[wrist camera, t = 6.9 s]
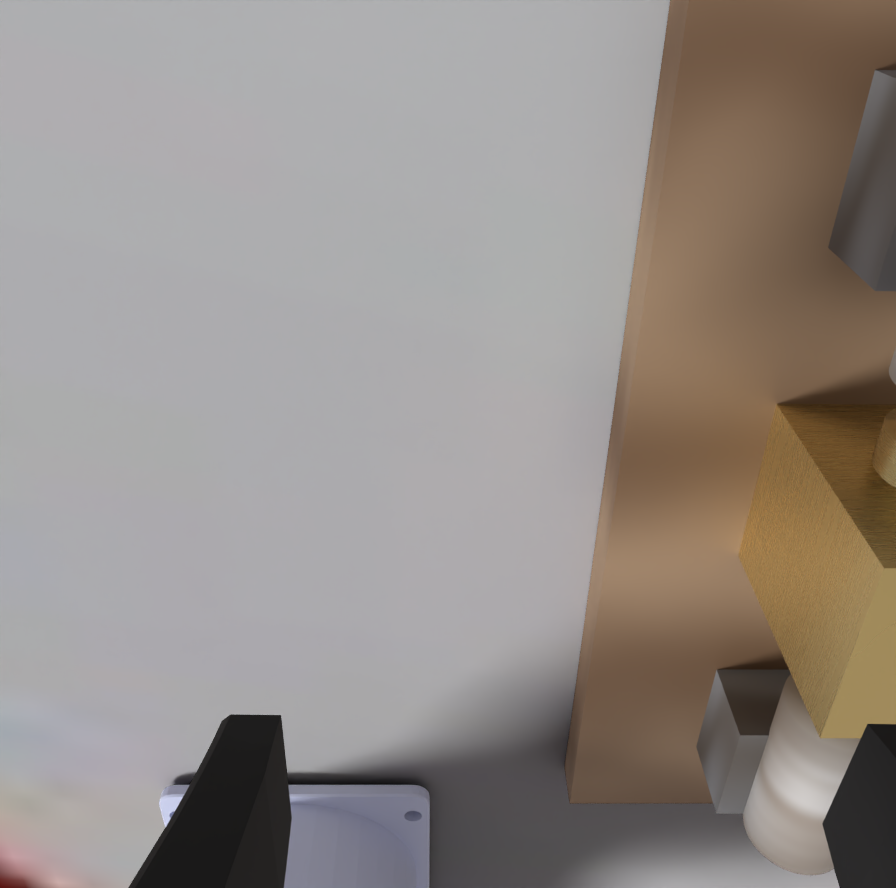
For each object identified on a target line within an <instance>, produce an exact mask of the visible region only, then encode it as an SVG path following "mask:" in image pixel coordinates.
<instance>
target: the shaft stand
mask: <svg viewBox="0 0 896 888" xmlns="http://www.w3.org/2000/svg"><path fill="white" fill-rule="evenodd" d="M776 404H896V0H670V6H669V14H668V21H667V28H666V35H665V43H664V50H663V57H662V64H661V72H660V79H659V86H658V93H657V101H656V108H655V115H654V122H653V130H652V137H651V144H650V151H649V159H648V166H647V173H646V180H645V188H644V195H643V202H642V209H641V216H640V224H639V231H638V238H637V245H636V253H635V260H634V267H633V274H632V282H631V289H630V296H629V303H628V311H627V318H626V325H625V332H624V340H623V347H622V354H621V361H620V369H619V376H618V383H617V390H616V398H615V405H614V412H613V419H612V427H611V434H610V441H609V448H608V456H607V463H606V470H605V477H604V485H603V492H602V499H601V506H600V514H599V521H598V528H597V535H596V543H595V550H594V557H593V564H592V571H591V579H590V586H589V593H588V600H587V608H586V615H585V622H584V629H583V637H582V644H581V651H580V658H579V666H578V673H577V680H576V687H575V695H574V702H573V709H572V716H571V724H570V731H569V738H568V745H567V753H566V760H565V767H564V768H565V774H566V781H567V788H568V795H569V802H570V803H713V804H714V808H715V811H716V814H743V823H744V827H745V830H746V832H747V835H748V837H749V838H750V840H751V842H752V843H753V845H754V846H755V847H756V848H757V850H758V851H759V852H760V853H761V854H762V855H763V856H764V857H766V858H767V859H768V860H769V861H771V862H772V863H774V864H775V865H777V866H779V867H781V868H783V869H785V870H788V871H790V872H793V873H797V874H802V875H819V874H824V873H826V872H829V871H831V870H832V869H834V866H833V862H832V858H831V855H830V851H829V847H828V843H827V840H826V836H825V832H824V828H823V825H822V823H823V821H824V819H825V817H826V814H827V812H828V810H829V808H830V806H831V803H832V801H833V799H834V797H835V795H836V792H837V790H838V788H839V786H840V783H841V781H842V779H843V777H844V775H845V772H846V770H847V768H848V766H849V763H850V761H851V759H852V757H853V755H854V752H855V750H856V748H857V746H858V744H859V741H860V739H861V738H820V737H819V735H818V733H817V731H816V728H815V726H814V724H813V722H812V719H811V717H810V715H809V713H808V711H807V708H806V706H805V704H804V702H803V699H802V697H801V695H800V693H799V691H798V688H797V686H796V684H795V682H794V679H793V677H792V675H791V673H790V670H789V668H788V666H787V664H786V662H785V659H784V657H783V655H782V653H781V650H780V648H779V646H778V644H777V642H776V639H775V637H774V635H773V633H772V630H771V628H770V626H769V624H768V621H767V619H766V617H765V615H764V613H763V610H762V608H761V606H760V604H759V601H758V599H757V597H756V595H755V593H754V590H753V588H752V586H751V584H750V581H749V579H748V577H747V575H746V572H745V570H744V568H743V566H742V564H741V561H740V559H739V557H738V554H739V550H740V546H741V542H742V538H743V534H744V530H745V526H746V522H747V518H748V514H749V510H750V506H751V503H752V499H753V495H754V491H755V487H756V483H757V479H758V475H759V471H760V467H761V463H762V459H763V455H764V451H765V447H766V443H767V439H768V435H769V431H770V427H771V423H772V420H773V416H774V412H775V408H776Z"/></svg>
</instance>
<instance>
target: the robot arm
mask: <svg viewBox="0 0 896 888" xmlns="http://www.w3.org/2000/svg"><path fill="white" fill-rule="evenodd" d="M159 806H160V809H161V813H162V817H163V820H164V824H165V827H166V828H165V829H164V831H163V832H162V834H161V836H160V837H159V839H158V841H157V842H156V844H155V845H154V847H153V849H152V850H151V852H150V854H149V855H148V857H147V858H146V860H145V862H144V863H143V865H142V867H141V868H140V870H139V871H138V873H137V875H136V876H135V878H134V880H133V881H132V883H131V884H130V886H129V888H429V848H430V795H429V792H428V791H427V790H426V789H425V788H424V787H421V786H419V785H288V777H287V768H286V758H285V749H284V739H283V730H282V720H281V715H229V716H228V717H227V718H225V719H224V720H223V721H222V722H221V724H220V726H219V729H218V731H217V733H216V735H215V737H214V739H213V741H212V743H211V745H210V747H209V749H208V751H207V753H206V755H205V757H204V759H203V761H202V763H201V765H200V767H199V769H198V771H197V772H196V774H195V776H194V778H193V780H192V782H191V784H190V785H171V786H169V787H167V788H165V789H164V790H163V791H162V794H161V797H160V800H159ZM822 825H823V828H824V832H825V836H826V840H827V843H828V847H829V851H830V855H831V858H832V862H833V866H834V869H835V873H836V876H837V880H838V883H839V886H840V888H896V724H867V726H866V728H865V730H864V732H863V735H862V737H861V739H860V741H859V744H858V746H857V748H856V750H855V752H854V755H853V757H852V759H851V761H850V763H849V766H848V768H847V770H846V772H845V775H844V777H843V779H842V781H841V783H840V786H839V788H838V790H837V792H836V795H835V797H834V799H833V801H832V803H831V806H830V808H829V810H828V812H827V814H826V817H825V819H824V821H823V823H822Z"/></svg>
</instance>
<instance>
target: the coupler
mask: <svg viewBox="0 0 896 888" xmlns="http://www.w3.org/2000/svg"><path fill="white" fill-rule="evenodd" d="M738 557H739V559H740V561H741V564H742V566H743V568H744V570H745V572H746V575H747V577H748V579H749V581H750V584H751V586H752V588H753V590H754V593H755V595H756V597H757V599H758V601H759V604H760V606H761V608H762V610H763V613H764V615H765V617H766V619H767V621H768V624H769V626H770V628H771V630H772V633H773V635H774V637H775V639H776V642H777V644H778V646H779V648H780V650H781V653H782V655H783V657H784V659H785V662H786V664H787V666H788V668H789V670H790V673H791V675H792V677H793V679H794V682H795V684H796V686H797V688H798V691H799V693H800V695H801V697H802V699H803V702H804V704H805V706H806V708H807V711H808V713H809V715H810V717H811V719H812V722H813V724H814V726H815V728H816V731H817V733H818V735H819V737H820V738H861V737H862V735H863V732H864V730H865V728H866V726H867V724H896V404H776V408H775V412H774V416H773V420H772V423H771V427H770V431H769V435H768V439H767V443H766V447H765V451H764V455H763V459H762V463H761V467H760V471H759V475H758V479H757V483H756V487H755V491H754V495H753V499H752V503H751V506H750V510H749V514H748V518H747V522H746V526H745V530H744V534H743V538H742V542H741V546H740V550H739V554H738Z"/></svg>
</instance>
